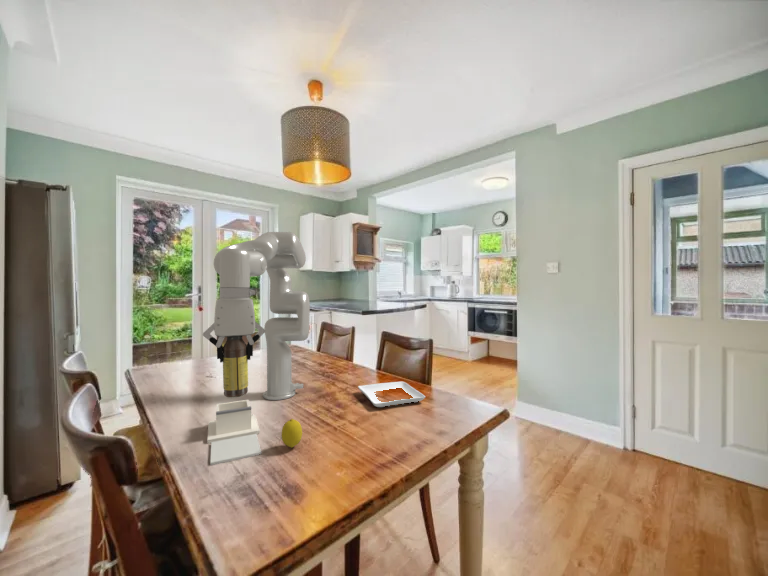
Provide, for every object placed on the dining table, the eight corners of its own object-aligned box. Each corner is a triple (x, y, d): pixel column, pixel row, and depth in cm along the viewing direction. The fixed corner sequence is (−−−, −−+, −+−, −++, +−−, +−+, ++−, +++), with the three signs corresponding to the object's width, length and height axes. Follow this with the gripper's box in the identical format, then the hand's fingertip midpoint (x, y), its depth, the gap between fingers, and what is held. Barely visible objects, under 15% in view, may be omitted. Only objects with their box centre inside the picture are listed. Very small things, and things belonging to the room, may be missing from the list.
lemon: (294, 441, 95) (294, 413, 95) (306, 447, 92) (306, 418, 92) (277, 448, 91) (277, 419, 91) (289, 454, 88) (289, 425, 88)
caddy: (255, 416, 113) (255, 394, 112) (259, 433, 100) (259, 408, 100) (208, 424, 106) (208, 401, 106) (207, 443, 94) (207, 416, 94)
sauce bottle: (246, 389, 95) (247, 320, 94) (249, 396, 89) (250, 322, 89) (221, 392, 92) (222, 321, 91) (223, 399, 86) (223, 323, 86)
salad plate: (426, 404, 125) (427, 395, 125) (374, 412, 118) (374, 403, 118) (403, 388, 145) (403, 380, 145) (356, 394, 137) (357, 385, 137)
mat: (256, 435, 99) (256, 433, 99) (261, 454, 88) (261, 452, 88) (211, 444, 93) (211, 442, 93) (210, 465, 83) (210, 462, 83)
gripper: (266, 293, 97) (266, 354, 97) (199, 294, 89) (199, 360, 90) (270, 294, 91) (270, 359, 91) (198, 295, 83) (198, 366, 83)
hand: (235, 359), depth 90 cm, fingers closed on sauce bottle, 6 cm apart
